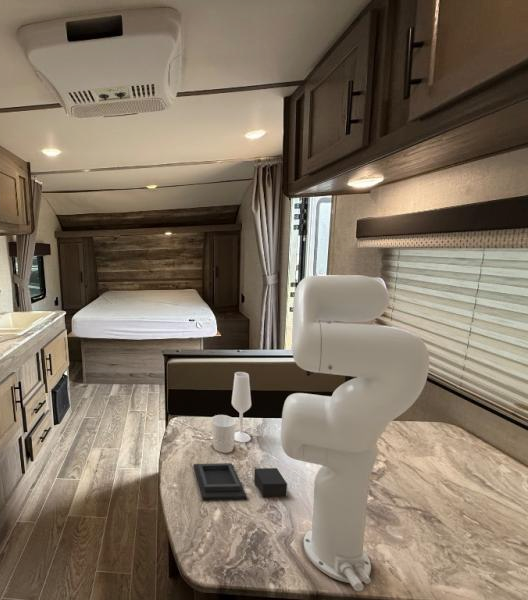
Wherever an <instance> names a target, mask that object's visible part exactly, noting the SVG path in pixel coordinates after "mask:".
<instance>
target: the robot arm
mask: <svg viewBox="0 0 528 600" xmlns="http://www.w3.org/2000/svg"><path fill="white" fill-rule="evenodd" d="M390 299H391V297H390V292H389V291H388V289H387V285H386V283H385V281H384V279H383V278H381V277H372V276H367V275H357V274H356V275H355V274H353V275H352V274H346V275H345V274H344V275H341V274H340V275H339V274H329V275H328V274H327V275H326V274H325V275H308V276H305V277H303V278H302V279H301V280H300V281H299V282H298V284H297V285H296V288H295V292H294V296H293V303H292V335H291V337H292V338H291V339H292V340H291V350H292V357H293V360H294V362H295V364H296V366H298V367H299V368H300V369H302V370H304V371H305V372H306V376H308V377H310V376H311V375H313V374H314V373H317V374H326V375H327V374H328V375H337V376H344V382H343V383H342V384H340V385H339V386H338V387H337V388H335V390H334V391H333V392H332V395H330V396H329V395H321V394H312V393H307V392H305V393H304V392H295V393H291V394H289V395H288V396H287V397H286V399H285V400H284V404H283V407H282V412H281V423H280V443H281V447H282V450H283V452H284V454H285V455H286V456H288V457H289V458H291V459H293V460H297V461H300V462H305V463H309V464H314V465H319V466H321V467H320V468H319V469H318V471H317V473H316V474H315V479H314V485H313V486H314V488H313V503H312V504H313V505H312V507H313V508H312V523H311V524H312V525H311V529H310V530H308V531H306V533H305V535H304V537H303V549H304V552H305V554H306V556H307V558H308V559H309V560H310V562H311V563H312V564H313V565H314V566H315V567H316V568H317V569H318V570H319V571H321V572H322V573H323V574H325V575H327V576H329V577H330V578H332V579H335V580H337V581H338V582H339V581H340V582H342V583H345V584H346V583H347V584H350V586H351V587H352V588H353V590H354V591H355V592H361V591H363V590H364V588H365V587H364V584H366V585H369V584H371V583H372V579H371V578H370V576H371V572H372V571H371V570H372V563H371V560H370V558H369V556H368V554H367V553H366V551H365V550H364V543H365V534H366V533H365V531H366V522H367V521H366V520H367V506H368V497H369V488H370V487H369V486H370V481H371V476H372V473H373V470H374V467H375V464H376V461H377V457H378V441H379V440H380V438H381V437H382V435H383V434H384V432H385V431H386V429H387V427H388V425H389V424H390V423H391V422H392V421H393V420H395V419H396V418H399V417H400V416H401V415H402V414H404V413H405V412H406V411H407V410H409V409H410V408H411V407H412V406H413V405H414V403H415V402H416V401H417V400H418V398H419V397H420V395H421V394H422V392H423V390H424V388H425V386H426V383H427V379H428V375H429V370H430V354H429V350H428V348H427V345H426V343H425V342H424V341H423V339H422V338H420V337H419V336H417V334H415V333H412V332H411V331H408V330H405V329H403V328H399V327H394V326H389V325H380V324H369V323H368V324H367V323H365V322H369V321H372V320H376V319H377V318H379V317H380V316H382V315H384V313H385V312H386V311H387V310H388V308H389V305H390ZM349 322H351V323H349ZM363 583H364V584H363Z"/></svg>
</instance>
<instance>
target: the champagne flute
mask: <svg viewBox="0 0 528 600" xmlns="http://www.w3.org/2000/svg"><path fill="white" fill-rule="evenodd" d="M250 383H251V382H250V374H249V373H247V372H245V371H236V372H234V377H233V385H232V394H231V406H232V407H233V408H234V409H235V410H236V411H237V412H238V413H239V415H238V416H239V417H238V418H239V420H238V423H239V424H238V425H239V427H238V431H235V437H234V441H235V442H238V443H248V442H250V441H251V440H252V439H251V436H250V435H249V434H248V433H246V432H244V413H245V412H247V411H249V410H250V409H251V408H252V396H251V395H252V394H251V385H250Z"/></svg>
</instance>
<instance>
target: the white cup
mask: <svg viewBox="0 0 528 600" xmlns="http://www.w3.org/2000/svg"><path fill="white" fill-rule="evenodd" d="M211 431H212V432H211V435H212V436H211V437H212V446H213V449H215V450H216V452H219V453H223V454H228V453H231V452H233V450H234V446H235V440H234V437H235V432H236V420H235V418H234V417H232V416H229V415H227V414H217V415H216V414H215V415H214V416H212V417H211Z"/></svg>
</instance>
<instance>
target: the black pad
mask: <svg viewBox="0 0 528 600" xmlns="http://www.w3.org/2000/svg"><path fill="white" fill-rule="evenodd" d="M254 482H255V484H256V487H257V488H258V490H259V492H260V494H261V496H262V497H263V498H276V497H277V498H278V497H279V498H281V497H283V498H284V497H287V493H288V492H287V491H288V483H287V481H286V480H285V478H284V477H283V475H282V474H281V472H280V470H279V469H278V468H277V467H269V468H268V467H266V468H265V467H264V468H259V467H258V468H254Z"/></svg>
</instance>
